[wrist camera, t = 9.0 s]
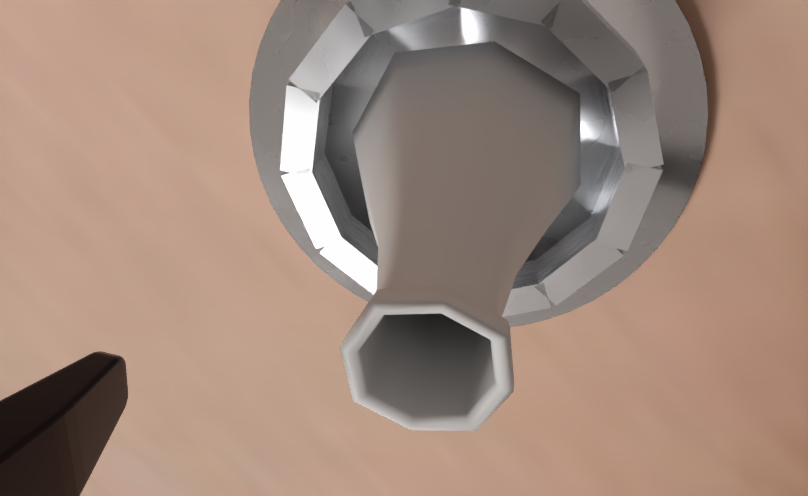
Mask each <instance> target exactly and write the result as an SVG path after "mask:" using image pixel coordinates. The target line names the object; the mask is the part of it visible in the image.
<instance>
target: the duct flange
mask: <svg viewBox="0 0 808 496" xmlns="http://www.w3.org/2000/svg"><path fill="white" fill-rule="evenodd" d="M493 41H495V42H497V43H498V44H500V45H502V46H503V47H505V48H506V49H508V50H510V51H511V52H513V53H515V54H516V55H518V56H520V57H521V58H523V59H524V60H526V61H528V62H529V63H531V64H533V65H534V66H536V67H537V68H539V69H541V70H542V71H544V72H546V73H547V74H549V75H551V76H552V77H554V78H555V79H557V80H559V81H560V82H562V83H564V84H565V85H567V86H569V87H570V88H572V89H573V90H575V91H577V92H578V93H580V143H581V185H580V187H579V188H578V190H577V191H576V193H575V194H574V195H573V197H572V198H571V199H570V201H569V202H568V203H567V204H566V206H565V207H564V208H563V210H562V211H561V212H560V213H559V215H558V216H557V217H556V218H555V220H554V221H553V222H552V223H551V225H550V226H549V227H548V229H547V230H546V232H545V233H544V235H543V236H542V237H541V239H540V240H539V242H538V243H537V245H536V246H535V248H534V249H533V251H532V252H531V254H530V255H529V257H528V258H527V260H526V261H525V263H524V264H523V266H522V267H521V269H520V270H519V271H518V273H517V274H516V277H515V280H514V283H513V286H512V289H511V292H510V295H509V298H508V301H507V304H506V307H505V309H504V312H503V315H502V317H503V318H505V319H506V320H507V321H508V324H509V326H510V327H512V326H520V325H525V324H530V323H534V322H538V321H542V320H547V319H550V318H552V317H555V316H558V315H561V314H564V313H567V312H569V311H572V310H574V309H576V308H578V307H580V306H582V305H584V304H586V303H589V302H591V301H593V300H595V299H596V298H598V297H600V296H601V295H603V294H604V293H606V292H607V291H609V290H611V289H612V288H614V287H615V286H617V285H618V284H619V283H621V282H622V281H623V280H624V279H626V278H627V277H628V276H629V275H631V274H632V273H633V272H634V271H636V270H637V269H638V268H639V267H640V266H641V265H642V264H643V263H644V262H645V261H646V260H647V259H648V258H649V257H650V256H651V255H652V254H653V252H654V251H655V250H656V249H657V248H658V247H659V246H660V244H661V243H662V242H663V240H664V239H665V238H666V236H667V235H668V234H669V232H670V231H671V230H672V228H673V227H674V225H675V224H676V222H677V220H678V218H679V216H680V215H681V213H682V211H683V209H684V207H685V206H686V204H687V202H688V200H689V197H690V195H691V192H692V190H693V187H694V185H695V182H696V180H697V177H698V174H699V170H700V166H701V162H702V158H703V154H704V150H705V144H706V134H707V123H708V105H707V87H706V81H705V76H704V71H703V66H702V62H701V57H700V53H699V50H698V48H697V45H696V42H695V40H694V37H693V34H692V32H691V29H690V26H689V24H688V22H687V20H686V18H685V17H684V15H683V13H682V11H681V10H680V8H679V6H678V4H677V2H676V1H675V0H281V2H280V3H279V5H278V7H277V8H276V10H275V12H274V14H273V15H272V17H271V19H270V21H269V24H268V26H267V29H266V31H265V33H264V36H263V38H262V41H261V43H260V46H259V50H258V54H257V57H256V61H255V65H254V69H253V73H252V82H251V90H250V99H249V112H250V133H251V139H252V146H253V152H254V157H255V161H256V164H257V168H258V171H259V175H260V178H261V181H262V183H263V186H264V188H265V191H266V193H267V195H268V198H269V200H270V202H271V204H272V206H273V208H274V210H275V211H276V213H277V215H278V217H279V218H280V220H281V222H282V224H283V225H284V227H285V228H286V230H287V231H288V232H289V234H290V235H291V236H292V238H293V239H294V240H295V242H296V243H297V244H298V246H299V247H300V248H301V249H302V250H303V251H304V252H305V253H306V254H307V255H308V256H309V258H310V259H311V260H312V261H313V262H314V263H315V264H316V265H317V266H318V267H320V268H321V269H322V270H323V271H324V272H325V273H327V274H328V275H329V276H330V277H331V278H332V279H334V280H335V281H336V282H338V283H339V284H341V285H342V286H343V287H345V288H346V289H348V290H349V291H351V292H352V293H354V294H355V295H357V296H359V297H361V298H363V299H364V300H366V301H368V302H369V301H370V299H371V298H372V296H373V295H374V294H375V293H376V290H377V268H378V246H377V243H376V240H375V236H374V233H373V230H372V227H371V224H370V220H369V216H368V211H367V206H366V201H365V196H364V191H363V186H362V181H361V176H360V170H359V165H358V160H357V155H356V150H355V145H354V140H353V135H352V132H353V130H354V128H355V126H356V125H357V123H358V121H359V119H360V117H361V115H362V113H363V111H364V109H365V108H366V106H367V104H368V102H369V100H370V98H371V96H372V94H373V92H374V91H375V89H376V87H377V85H378V83H379V81H380V79H381V77H382V75H383V74H384V72H385V70H386V68H387V66H388V64H389V62H390V60H391V58H392V57H393V55H394V53H395V52H404V51H413V50H422V49H431V48H439V47H448V46H457V45H466V44H475V43H484V42H493Z"/></svg>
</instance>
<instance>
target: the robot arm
mask: <svg viewBox="0 0 808 496" xmlns="http://www.w3.org/2000/svg"><path fill="white" fill-rule="evenodd" d="M127 399H128V386H127V374H126V364H125V360H124V359H123V358H122V357H121V356H118V355H114V354H110V353H105V352H94V353H92V354H90V355H88V356H86V357H84V358H82V359H80V360H78V361H76V362H74V363H72V364H70V365H68V366H66V367H65V368H63V369H61V370H59V371H57V372H55V373H53V374H51V375H49V376H47V377H45V378H43V379H41V380H39V381H37V382H36V383H34V384H32V385H30V386H28V387H26V388H24V389H22V390H20V391H18V392H16V393H14V394H12V395H10V396H8V397H7V398H5V399H3V400H1V401H0V496H79V495H80V494H81V492H82V490H83V488H84V486H85V484H86V483H87V481H88V479H89V477H90V475H91V473H92V471H93V469H94V467H95V465H96V463H97V461H98V459H99V457H100V455H101V453H102V451H103V450H104V448H105V446H106V444H107V442H108V440H109V438H110V436H111V434H112V432H113V430H114V428H115V426H116V424H117V422H118V420H119V418H120V416H121V414H122V412H123V411H124V408H125V406H126V403H127Z"/></svg>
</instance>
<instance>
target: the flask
mask: <svg viewBox="0 0 808 496" xmlns="http://www.w3.org/2000/svg"><path fill="white" fill-rule="evenodd" d="M352 135H353V140H354V145H355V150H356V155H357V160H358V165H359V170H360V176H361V181H362V186H363V191H364V196H365V201H366V206H367V211H368V216H369V220H370V224H371V227H372V230H373V233H374V236H375V240H376V243H377V246H378V268H377V290H376V293H375V294H374V295H373V296H372V298H371V299H370V301H369V303H368V304H367V306H366V307H365V309H364V310H363V312H362V313H361V315H360V316H359V318H358V319H357V321H356V322H355V324H354V325H353V327H352V328H351V330H350V331H349V333H348V334H347V336H346V337H345V339H344V340H343V342H342V346H341V354H342V358H343V362H344V366H345V370H346V374H347V378H348V382H349V386H350V390H351V394H352V398H353V401H354V402H356V403H358V404H360V405H362V406H364V407H366V408H368V409H370V410H372V411H374V412H376V413H378V414H380V415H382V416H384V417H386V418H388V419H390V420H392V421H394V422H396V423H398V424H400V425H402V426H404V427H406V428H408V429H409V430H437V431H477V429H478V428H479V427H480V426H481V425H482V424H483V423H484V422H485V421H486V420H487V419H488V418H489V417H490V416H491V415H492V414H493V412H494V411H495V410H496V409H497V408H498V407H499V406H500V405H501V404H502V403H503V402H504V401H505V400H506V399H507V398H508V397H509V395H510V394H511V393H512V392H513V390H514V375H513V362H512V349H511V336H510V326H509V324H508V321H507V320H506V319H505V318H503V317H502V315H503V312H504V309H505V307H506V304H507V301H508V298H509V295H510V292H511V289H512V286H513V283H514V280H515V277H516V274H517V273H518V271H519V270H520V269H521V267H522V266H523V264H524V263H525V261H526V260H527V258H528V257H529V255H530V254H531V252H532V251H533V249H534V248H535V246H536V245H537V243H538V242H539V240H540V239H541V237H542V236H543V235H544V233H545V232H546V230H547V229H548V227H549V226H550V225H551V223H552V222H553V221H554V220H555V218H556V217H557V216H558V215H559V213H560V212H561V211H562V210H563V208H564V207H565V206H566V204H567V203H568V202H569V201H570V199H571V198H572V197H573V195H574V194H575V193H576V191H577V190H578V188H579V187H580V185H581V143H580V93H578V92H577V91H575V90H573V89H572V88H570V87H569V86H567V85H565V84H564V83H562V82H560V81H559V80H557V79H555V78H554V77H552V76H551V75H549V74H547V73H546V72H544V71H542V70H541V69H539V68H537V67H536V66H534V65H533V64H531V63H529V62H528V61H526V60H524V59H523V58H521V57H520V56H518V55H516V54H515V53H513V52H511V51H510V50H508V49H506V48H505V47H503V46H502V45H500V44H498V43H497V42H495V41H493V42H484V43H475V44H466V45H457V46H448V47H439V48H431V49H422V50H413V51H404V52H395V53H394V55H393V57H392V58H391V60H390V62H389V64H388V66H387V68H386V70H385V72H384V74H383V75H382V77H381V79H380V81H379V83H378V85H377V87H376V89H375V91H374V92H373V94H372V96H371V98H370V100H369V102H368V104H367V106H366V108H365V109H364V111H363V113H362V115H361V117H360V119H359V121H358V123H357V125H356V126H355V128H354V130H353V132H352Z"/></svg>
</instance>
